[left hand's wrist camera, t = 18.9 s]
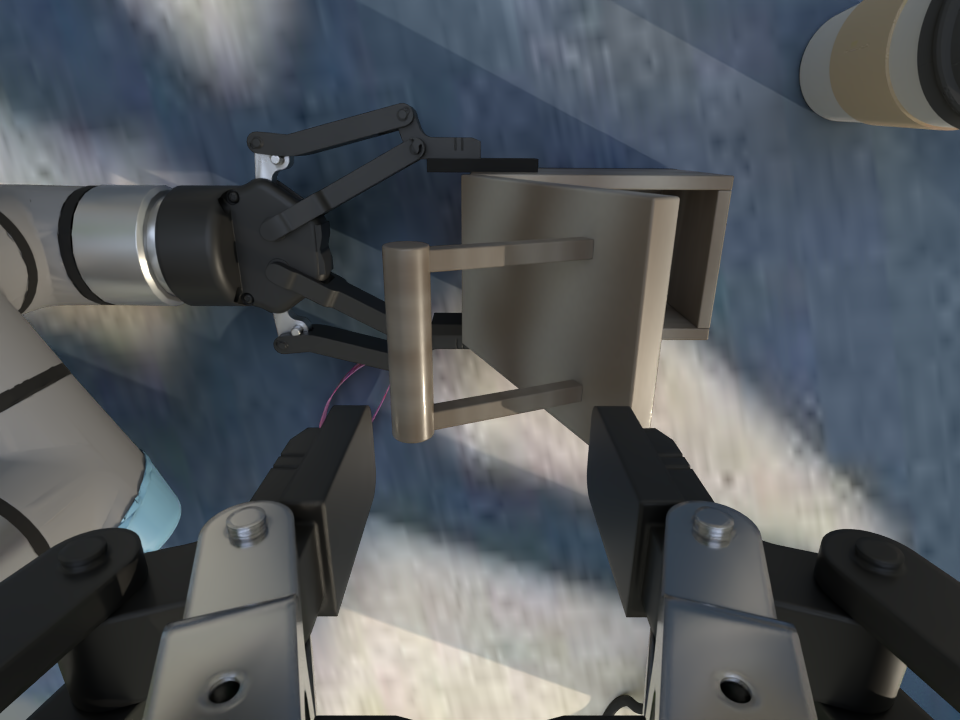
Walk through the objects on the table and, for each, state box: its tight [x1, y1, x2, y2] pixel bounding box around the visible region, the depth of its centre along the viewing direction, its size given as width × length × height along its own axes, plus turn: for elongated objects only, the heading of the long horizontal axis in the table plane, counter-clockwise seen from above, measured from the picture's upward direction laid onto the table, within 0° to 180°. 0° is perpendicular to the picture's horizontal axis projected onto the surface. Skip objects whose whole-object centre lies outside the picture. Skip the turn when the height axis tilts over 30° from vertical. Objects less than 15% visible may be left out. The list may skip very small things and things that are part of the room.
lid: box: [382, 174, 680, 445], centre depth 23 cm, size 15×9×8 cm
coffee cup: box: [800, 0, 960, 130], centre depth 31 cm, size 9×9×15 cm
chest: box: [470, 168, 734, 340], centre depth 37 cm, size 14×9×11 cm, turn 90°
